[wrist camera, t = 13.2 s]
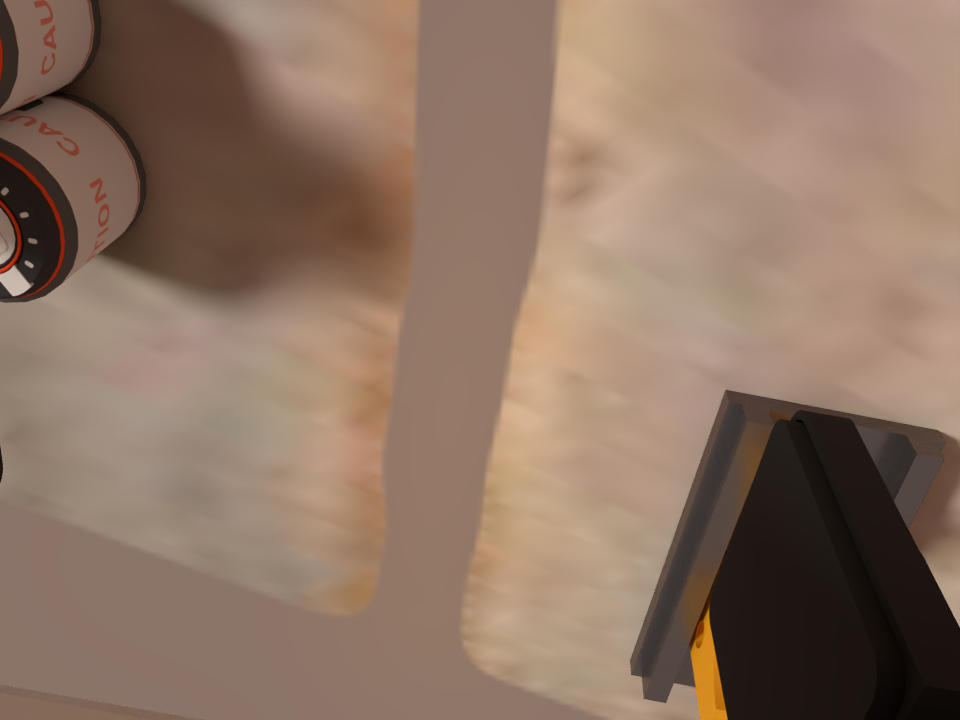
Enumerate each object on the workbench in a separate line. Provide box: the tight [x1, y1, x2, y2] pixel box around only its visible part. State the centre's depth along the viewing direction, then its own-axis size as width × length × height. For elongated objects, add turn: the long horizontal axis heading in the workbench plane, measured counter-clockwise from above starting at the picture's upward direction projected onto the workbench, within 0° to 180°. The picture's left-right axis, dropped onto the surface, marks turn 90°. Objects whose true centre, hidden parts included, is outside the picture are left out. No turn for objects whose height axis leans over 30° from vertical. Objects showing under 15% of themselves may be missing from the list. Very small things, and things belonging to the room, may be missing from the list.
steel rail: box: [630, 390, 945, 703], centre depth 45 cm, size 10×18×2 cm, turn 170°
